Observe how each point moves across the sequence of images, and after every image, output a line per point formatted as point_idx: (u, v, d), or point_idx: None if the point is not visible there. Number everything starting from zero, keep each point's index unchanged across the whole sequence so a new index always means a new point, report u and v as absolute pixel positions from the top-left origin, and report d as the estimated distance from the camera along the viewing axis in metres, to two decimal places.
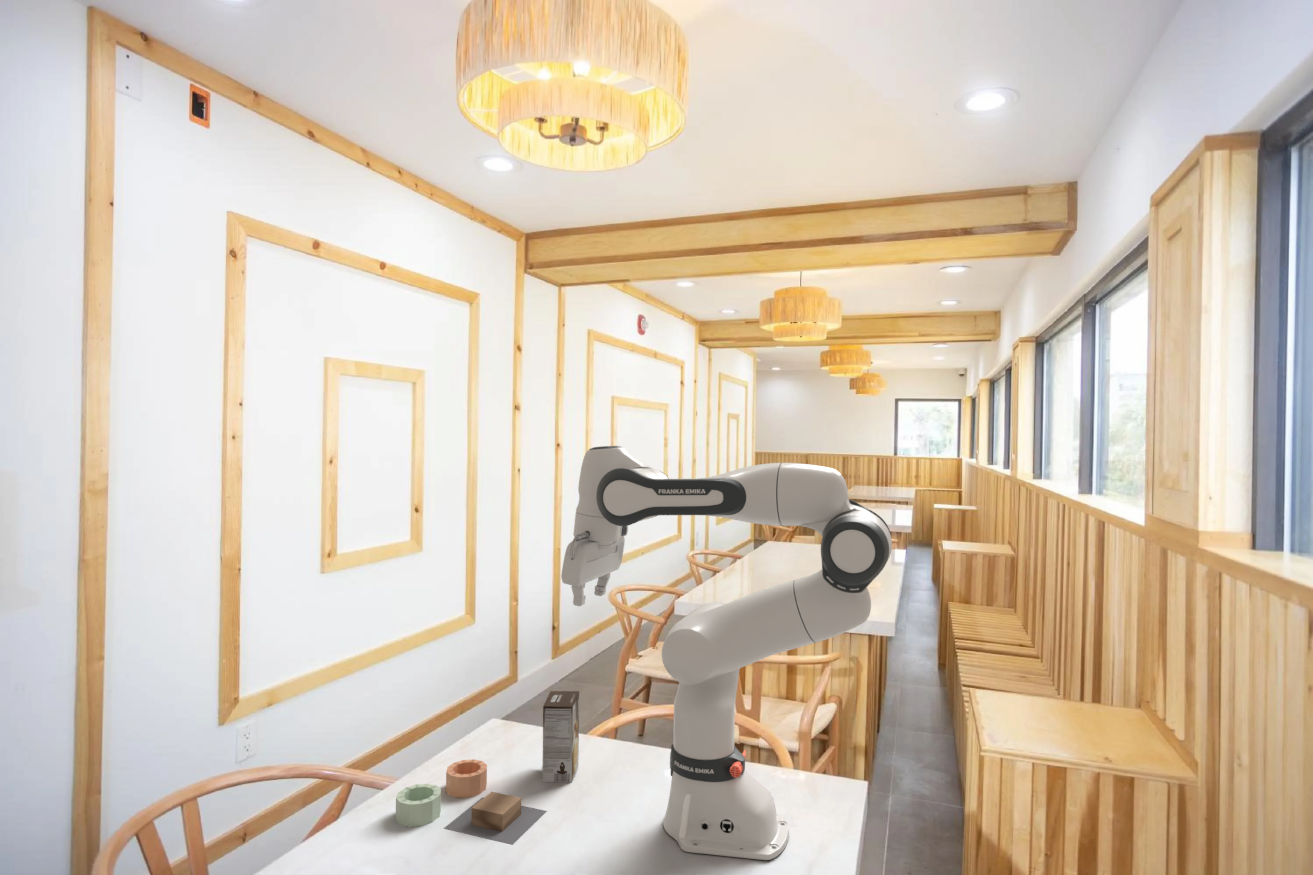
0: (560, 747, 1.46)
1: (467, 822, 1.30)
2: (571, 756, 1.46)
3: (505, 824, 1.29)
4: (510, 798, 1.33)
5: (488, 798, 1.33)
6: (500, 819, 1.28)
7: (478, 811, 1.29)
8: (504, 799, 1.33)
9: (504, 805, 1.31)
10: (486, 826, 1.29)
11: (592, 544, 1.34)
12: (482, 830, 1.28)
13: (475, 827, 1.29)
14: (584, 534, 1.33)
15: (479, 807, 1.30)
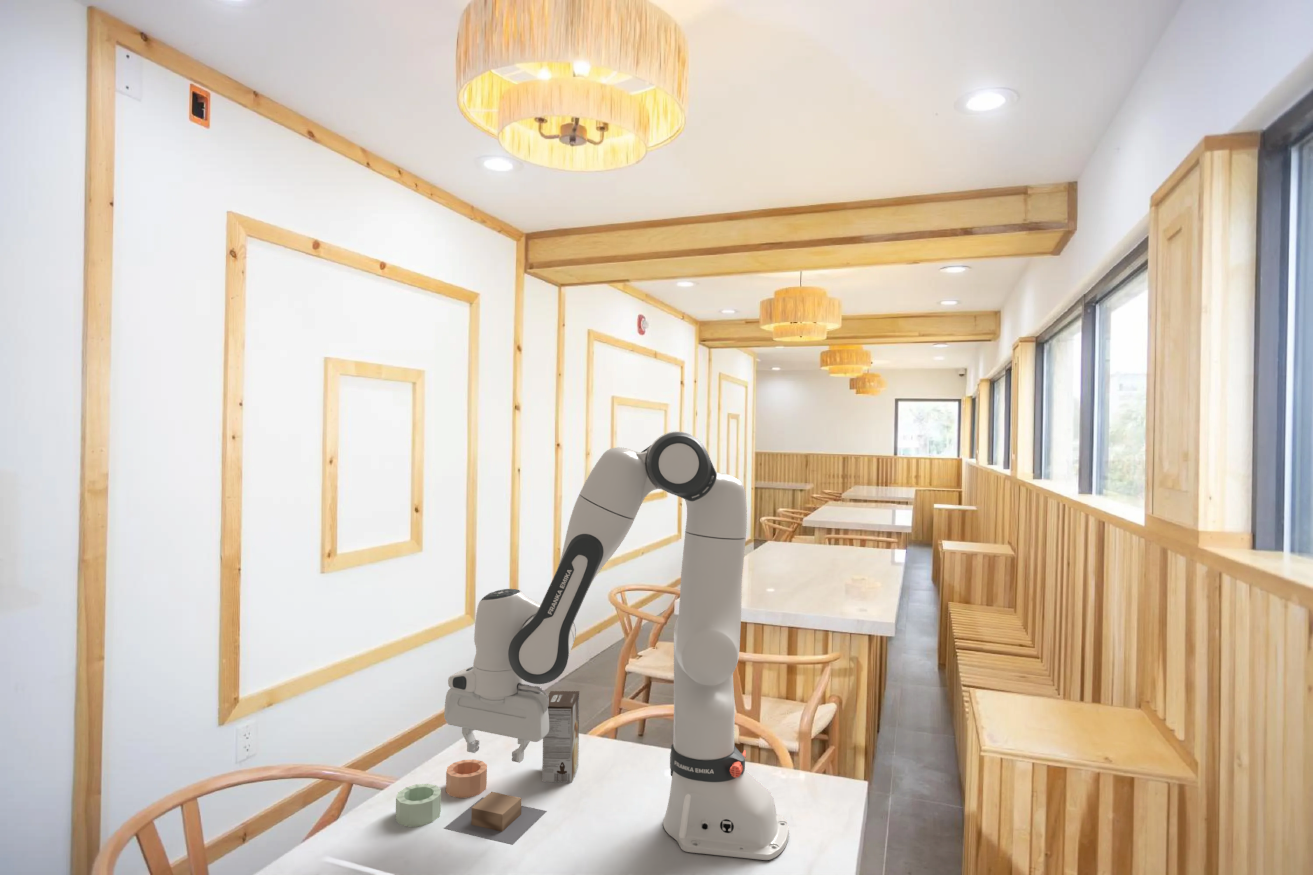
0: (560, 747, 1.46)
1: (467, 822, 1.30)
2: (571, 756, 1.46)
3: (505, 824, 1.29)
4: (510, 798, 1.33)
5: (488, 798, 1.33)
6: (500, 819, 1.28)
7: (478, 811, 1.29)
8: (504, 799, 1.33)
9: (504, 805, 1.31)
10: (486, 826, 1.29)
11: None
12: (482, 830, 1.28)
13: (475, 827, 1.29)
14: None
15: (479, 807, 1.30)
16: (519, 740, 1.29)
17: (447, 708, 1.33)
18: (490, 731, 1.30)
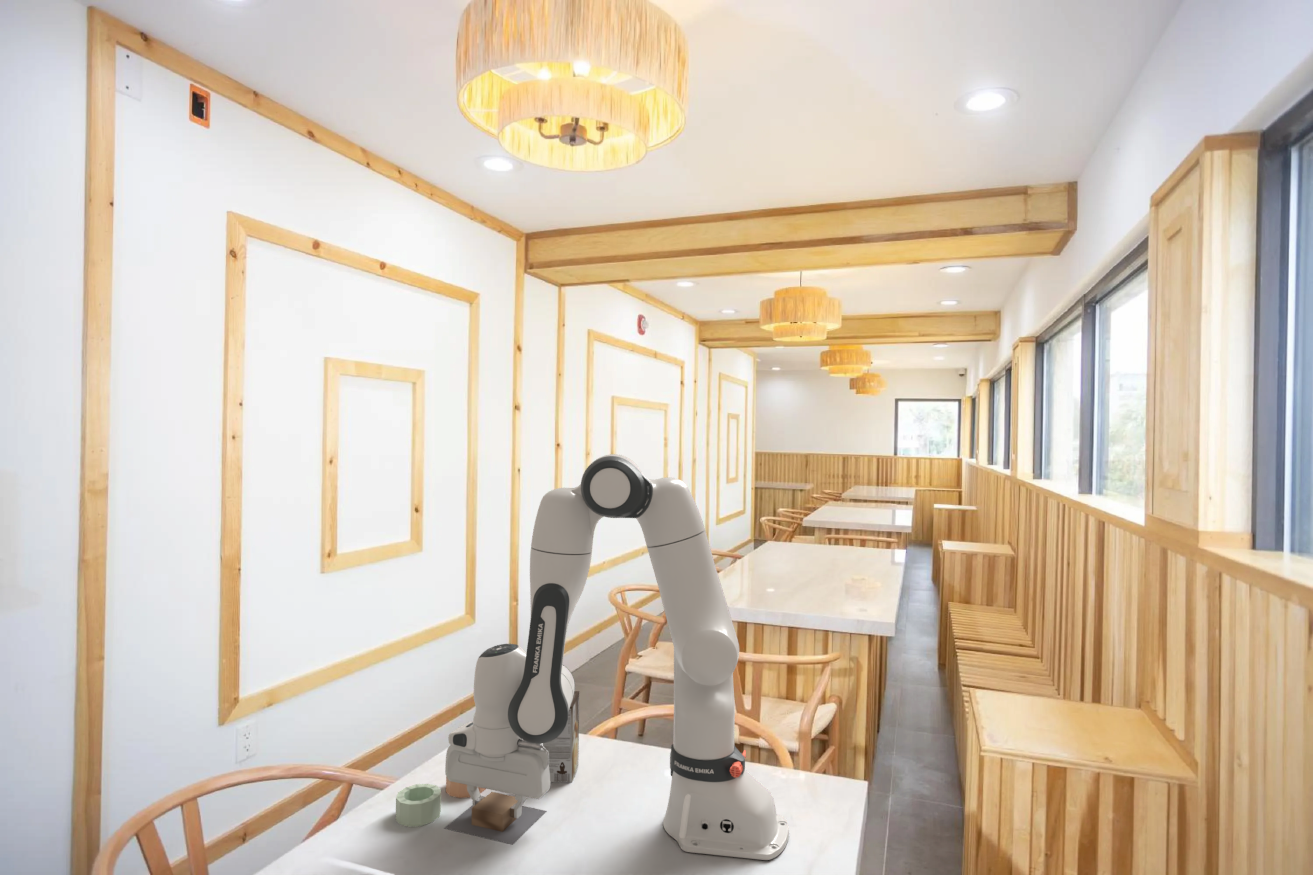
0: (560, 747, 1.46)
1: (467, 822, 1.30)
2: (571, 756, 1.46)
3: (506, 824, 1.29)
4: (510, 798, 1.33)
5: (488, 798, 1.33)
6: (501, 819, 1.28)
7: (478, 811, 1.29)
8: (505, 799, 1.33)
9: (504, 805, 1.31)
10: (486, 826, 1.29)
11: None
12: (482, 830, 1.28)
13: (475, 827, 1.29)
14: None
15: (479, 807, 1.30)
16: (516, 796, 1.29)
17: (448, 765, 1.33)
18: (491, 788, 1.30)
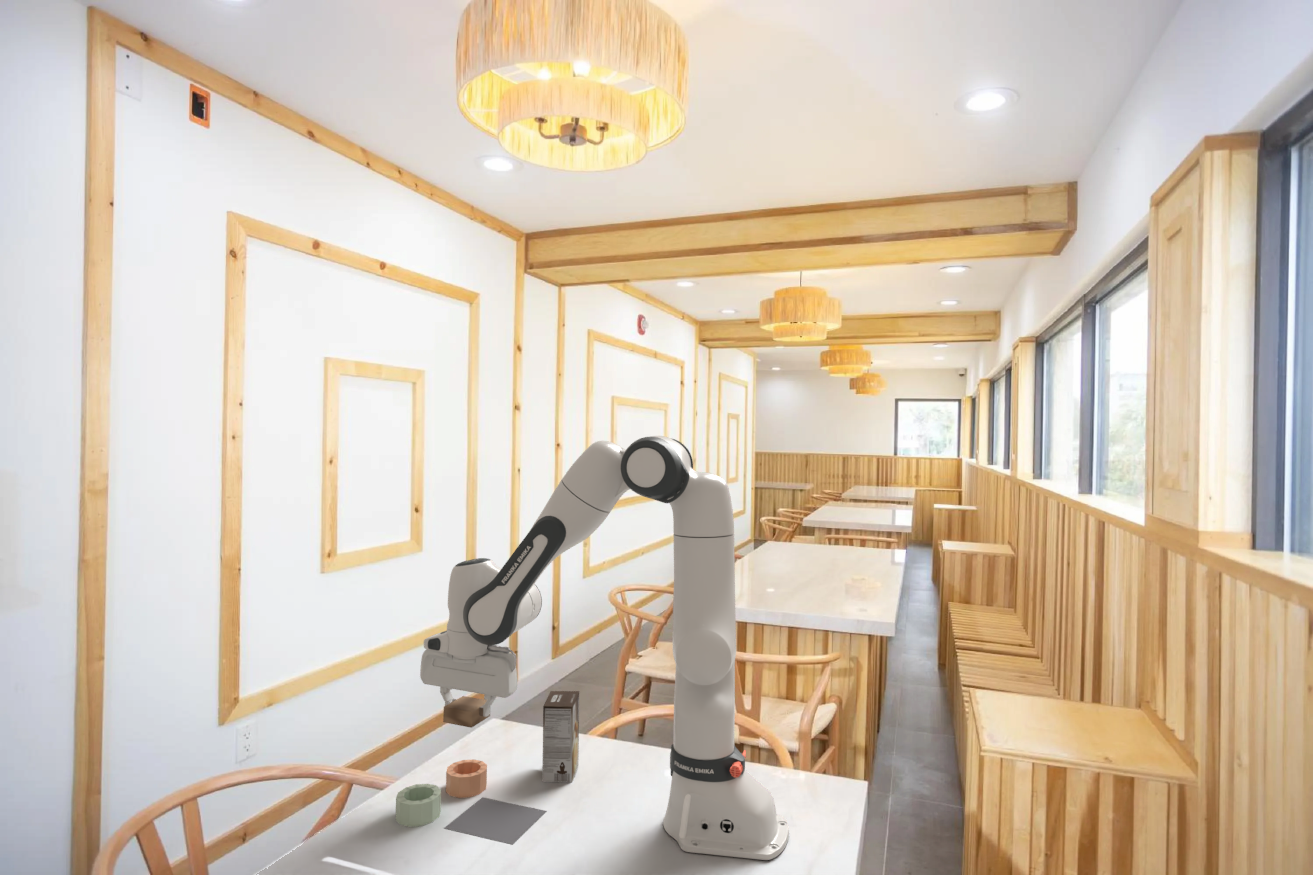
0: (560, 747, 1.46)
1: (467, 822, 1.30)
2: (571, 756, 1.46)
3: (475, 721, 1.39)
4: (480, 700, 1.44)
5: (459, 700, 1.43)
6: (470, 716, 1.38)
7: (449, 710, 1.40)
8: (475, 701, 1.43)
9: (474, 705, 1.41)
10: (457, 723, 1.39)
11: None
12: (482, 830, 1.28)
13: (475, 827, 1.29)
14: None
15: (451, 706, 1.40)
16: (486, 696, 1.39)
17: (423, 668, 1.43)
18: (462, 689, 1.40)
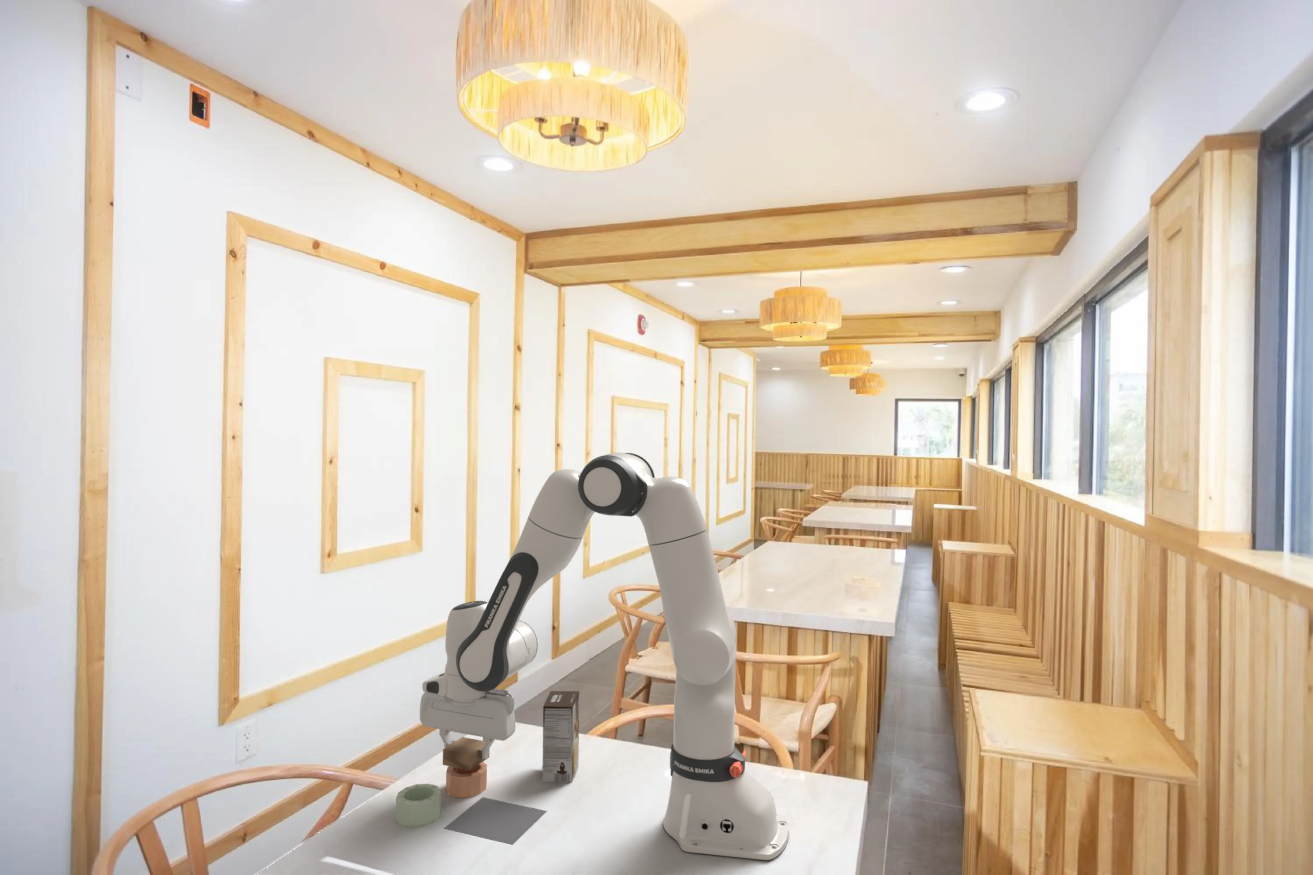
0: (560, 747, 1.46)
1: (467, 822, 1.30)
2: (571, 756, 1.46)
3: (474, 764, 1.40)
4: (479, 742, 1.45)
5: (459, 742, 1.45)
6: (469, 759, 1.39)
7: (449, 752, 1.41)
8: (474, 743, 1.44)
9: (473, 747, 1.42)
10: (456, 766, 1.40)
11: None
12: (482, 830, 1.28)
13: (475, 827, 1.29)
14: None
15: (450, 749, 1.41)
16: (484, 738, 1.41)
17: (422, 711, 1.44)
18: (461, 731, 1.42)
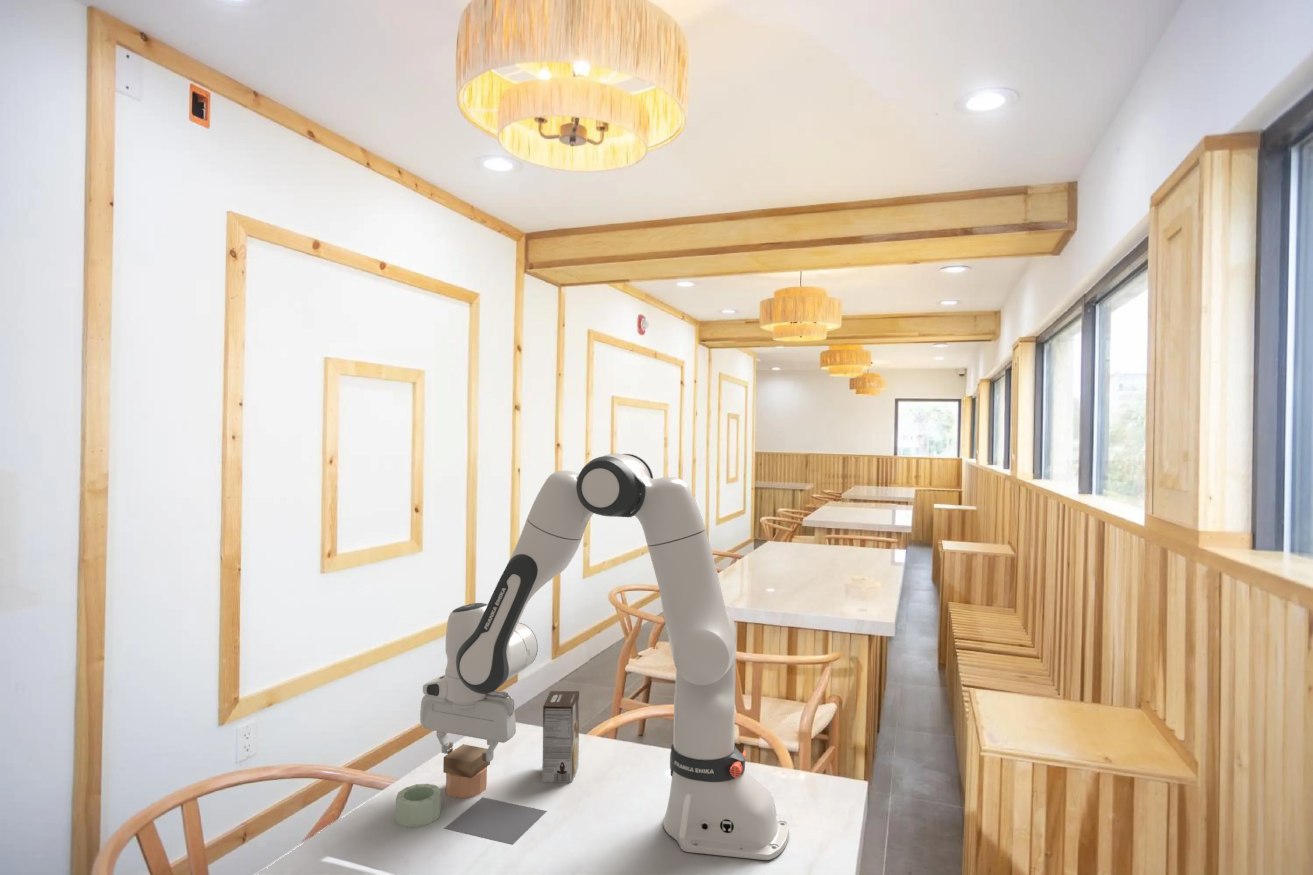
0: (560, 747, 1.46)
1: (467, 822, 1.30)
2: (571, 756, 1.46)
3: (474, 771, 1.40)
4: (479, 749, 1.45)
5: (459, 749, 1.45)
6: (470, 766, 1.39)
7: (449, 760, 1.41)
8: (474, 750, 1.44)
9: (473, 755, 1.42)
10: (457, 773, 1.40)
11: None
12: (482, 830, 1.28)
13: (475, 827, 1.29)
14: None
15: (450, 756, 1.41)
16: (488, 741, 1.40)
17: (422, 713, 1.44)
18: (462, 734, 1.42)
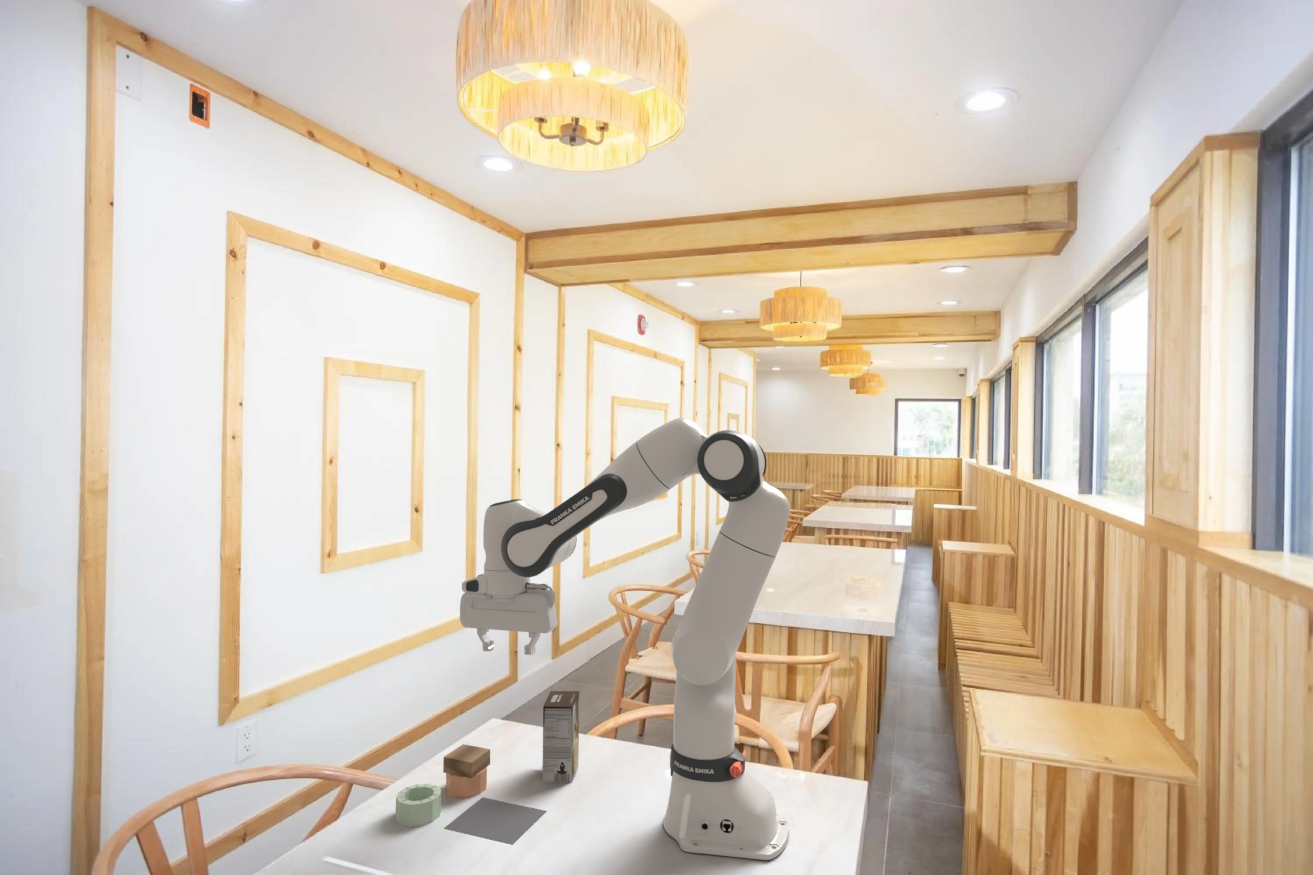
0: (560, 747, 1.46)
1: (467, 822, 1.30)
2: (571, 756, 1.46)
3: (474, 771, 1.40)
4: (479, 749, 1.45)
5: (459, 749, 1.45)
6: (470, 766, 1.39)
7: (449, 760, 1.41)
8: (474, 750, 1.44)
9: (473, 755, 1.42)
10: (457, 773, 1.40)
11: None
12: (482, 830, 1.28)
13: (475, 827, 1.29)
14: None
15: (450, 756, 1.41)
16: (530, 634, 1.40)
17: (462, 612, 1.44)
18: (503, 628, 1.41)
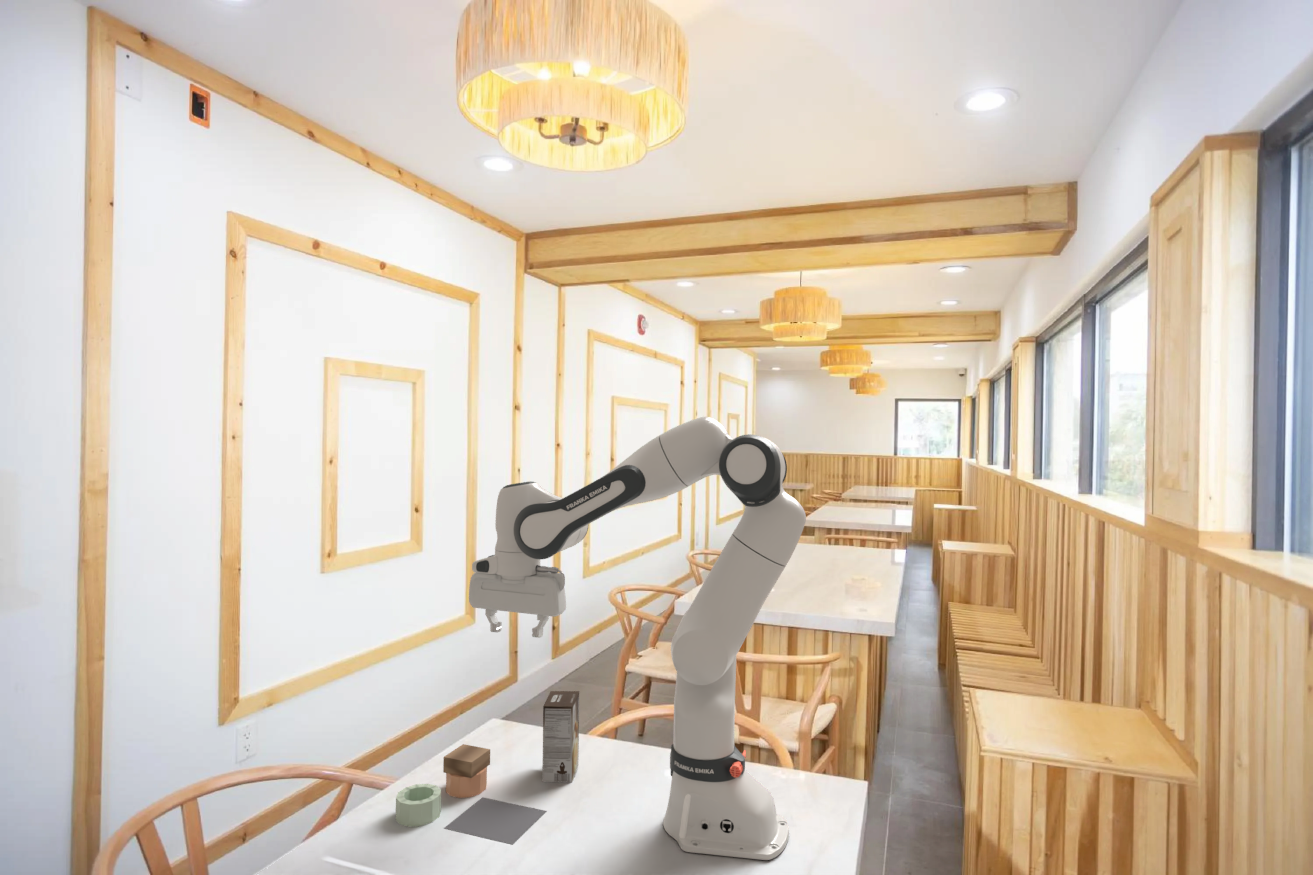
0: (560, 747, 1.46)
1: (467, 822, 1.30)
2: (571, 756, 1.46)
3: (474, 771, 1.40)
4: (479, 749, 1.45)
5: (459, 749, 1.45)
6: (470, 766, 1.39)
7: (449, 760, 1.41)
8: (474, 750, 1.44)
9: (473, 755, 1.42)
10: (457, 773, 1.40)
11: None
12: (482, 830, 1.28)
13: (475, 827, 1.29)
14: None
15: (450, 756, 1.41)
16: (538, 616, 1.40)
17: (471, 592, 1.44)
18: (512, 610, 1.41)
